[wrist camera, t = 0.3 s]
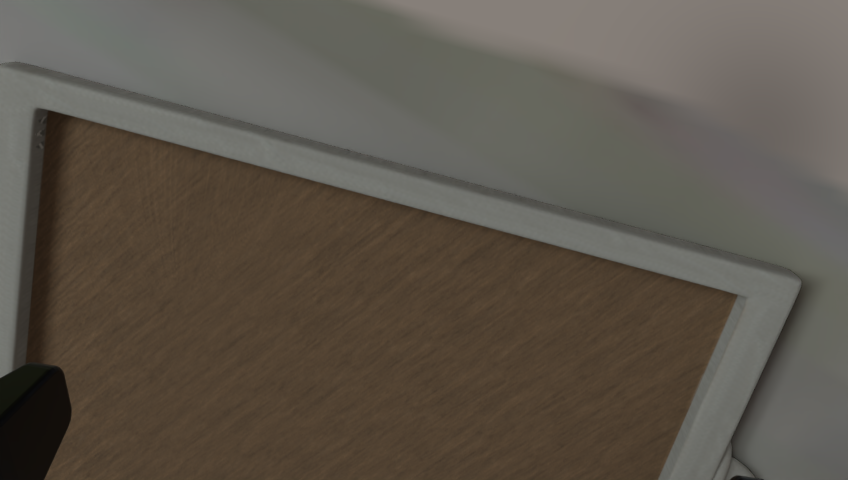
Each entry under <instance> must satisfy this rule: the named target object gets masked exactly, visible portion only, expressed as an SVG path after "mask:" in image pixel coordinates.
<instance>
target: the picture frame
mask: <svg viewBox="0 0 848 480" xmlns="http://www.w3.org/2000/svg"><path fill="white" fill-rule="evenodd" d="M801 286H802V282H801V280H800V278H799V277H798V276H797V275H796V274H794V273H793V272H792V271H791V270H789V269H786V268H784V267H780V266H777V265H773V264H770V263H766V262H763V261H759V260H755V259H751V258H748V257H744V256H740V255H736V254H733V253H729V252H725V251H722V250H718V249H714V248H710V247H707V246H703V245H699V244H696V243H692V242H688V241H684V240H681V239H677V238H673V237H670V236H666V235H662V234H658V233H655V232H651V231H647V230H643V229H640V228H636V227H632V226H629V225H625V224H621V223H617V222H614V221H610V220H606V219H603V218H599V217H595V216H591V215H588V214H584V213H580V212H576V211H573V210H569V209H565V208H562V207H558V206H554V205H550V204H547V203H543V202H539V201H536V200H532V199H528V198H524V197H521V196H517V195H513V194H510V193H506V192H502V191H498V190H495V189H491V188H487V187H483V186H480V185H476V184H472V183H469V182H465V181H461V180H457V179H454V178H450V177H446V176H443V175H439V174H435V173H431V172H428V171H424V170H420V169H417V168H413V167H409V166H405V165H402V164H398V163H394V162H390V161H387V160H383V159H379V158H376V157H372V156H368V155H364V154H361V153H357V152H353V151H350V150H346V149H342V148H338V147H335V146H331V145H327V144H323V143H320V142H316V141H312V140H309V139H305V138H301V137H297V136H294V135H290V134H286V133H283V132H279V131H275V130H271V129H268V128H264V127H260V126H257V125H253V124H249V123H245V122H242V121H238V120H234V119H230V118H227V117H223V116H219V115H216V114H212V113H208V112H204V111H201V110H197V109H193V108H190V107H186V106H182V105H178V104H175V103H171V102H167V101H164V100H160V99H156V98H152V97H149V96H145V95H141V94H137V93H134V92H130V91H126V90H123V89H119V88H115V87H111V86H108V85H104V84H100V83H97V82H93V81H89V80H85V79H82V78H78V77H74V76H70V75H67V74H63V73H59V72H56V71H52V70H48V69H44V68H40V67H37V66H33V65H29V64H25V63H20V62H9V63H2V64H0V378H1V377H3V376H4V375H6V374H8V373H10V372H12V371H13V370H15V369H17V368H19V367H20V366H22V365H24V364H27V363H31V362H36V363H43V364H49V365H55V366H58V367H60V368H61V369H62V370H63V372H64V375H65V379H66V384H67V388H68V393H69V397H70V402H71V406H72V416H71V421H70V424H69V427H68V429H67V431H66V433H65V436H64V438H63V440H62V442H61V444H60V447H59V449H58V451H57V453H56V455H55V457H54V460H53V462H52V464H51V466H50V468H49V471H48V473H47V475H46V477H45V479H44V480H730V479H731V478H732V477H734V476H736V475H740V476H747V477H753V478H755V476H754V475H753V474H752V473H751V472H750V470H749V469H748V468H747V467H746V466H744V465H743V464H742V463H741V462H739V461H738V460H737V459H735V458H733V457H732V445H731V441H730V440H731V438H732V436H733V434H734V432H735V430H736V428H737V425H738V423H739V421H740V419H741V417H742V415H743V412H744V410H745V408H746V406H747V404H748V402H749V399H750V397H751V395H752V393H753V391H754V389H755V386H756V384H757V382H758V380H759V378H760V376H761V373H762V371H763V369H764V367H765V365H766V363H767V361H768V358H769V356H770V354H771V352H772V350H773V348H774V345H775V343H776V341H777V339H778V337H779V335H780V332H781V330H782V328H783V326H784V324H785V322H786V319H787V317H788V315H789V313H790V311H791V309H792V307H793V304H794V302H795V300H796V298H797V295H798V293H799V291H800V288H801Z"/></svg>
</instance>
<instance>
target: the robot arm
mask: <svg viewBox="0 0 848 480" xmlns="http://www.w3.org/2000/svg"><path fill="white" fill-rule="evenodd" d="M71 416H72V406H71V402H70V397H69V393H68V388H67V384H66V379H65V375H64V372H63V370H62V369H61V368H60V367H58V366H55V365H49V364H43V363H36V362H31V363H27V364H24V365H22V366H20V367H19V368H17V369H15V370H13V371H12V372H10V373H8V374H6V375H4V376H3V377H1V378H0V480H44V479H45V477H46V475H47V473H48V471H49V468H50V466H51V464H52V462H53V460H54V457H55V455H56V453H57V451H58V449H59V447H60V444H61V442H62V440H63V438H64V436H65V433H66V431H67V429H68V427H69V424H70V421H71ZM730 480H763V479H759V478H753V477H747V476H740V475H736V476H734V477H732V478H731V479H730Z"/></svg>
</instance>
